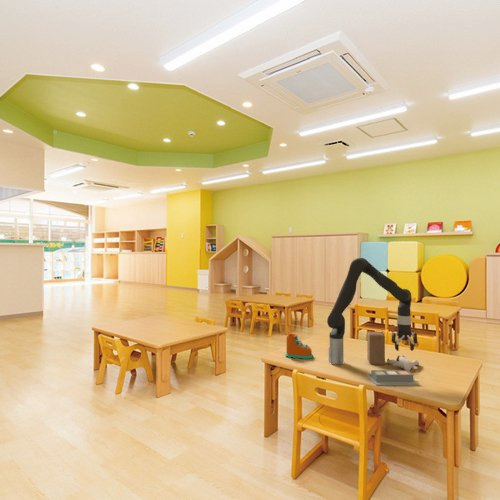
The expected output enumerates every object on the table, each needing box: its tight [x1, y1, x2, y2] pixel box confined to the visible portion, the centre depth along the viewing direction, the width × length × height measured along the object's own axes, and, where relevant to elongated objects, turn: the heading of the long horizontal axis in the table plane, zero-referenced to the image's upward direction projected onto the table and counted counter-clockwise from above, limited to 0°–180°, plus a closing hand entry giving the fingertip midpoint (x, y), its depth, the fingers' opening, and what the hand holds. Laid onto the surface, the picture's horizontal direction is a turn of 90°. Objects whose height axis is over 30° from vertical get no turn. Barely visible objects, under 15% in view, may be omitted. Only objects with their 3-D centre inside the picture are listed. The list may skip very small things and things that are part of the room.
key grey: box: [386, 371, 397, 375], centre depth 199 cm, size 5×5×2 cm
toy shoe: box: [285, 333, 314, 360], centre depth 245 cm, size 12×20×15 cm, turn 72°
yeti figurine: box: [386, 355, 420, 372], centre depth 223 cm, size 20×7×20 cm
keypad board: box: [366, 369, 419, 387], centre depth 199 cm, size 24×14×5 cm, turn 91°
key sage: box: [374, 371, 386, 375], centre depth 199 cm, size 5×5×2 cm
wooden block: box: [366, 331, 386, 366], centre depth 231 cm, size 10×10×20 cm
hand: (404, 350), depth 201 cm, fingers open, 8 cm apart
